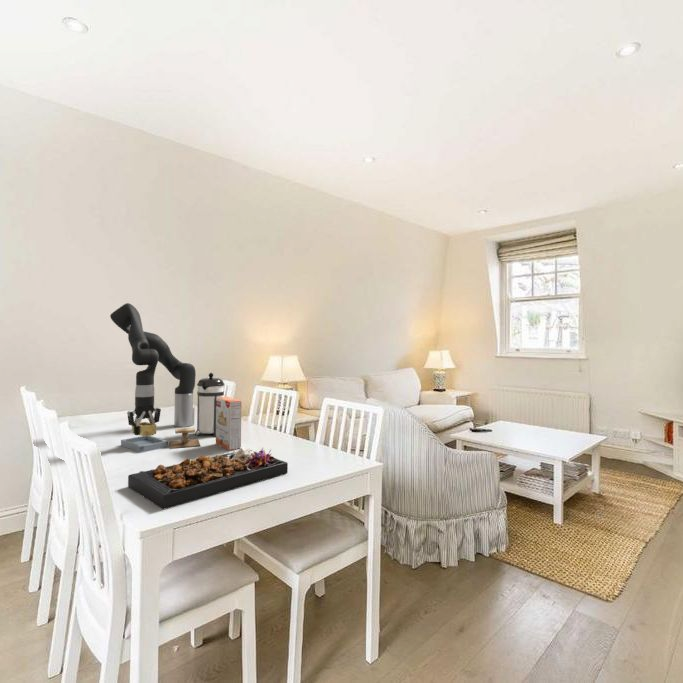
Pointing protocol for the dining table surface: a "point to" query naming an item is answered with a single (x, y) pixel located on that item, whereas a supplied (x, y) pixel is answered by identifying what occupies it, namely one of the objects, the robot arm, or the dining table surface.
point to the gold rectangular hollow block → (146, 429)
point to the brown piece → (184, 439)
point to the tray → (144, 443)
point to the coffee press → (208, 403)
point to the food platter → (205, 476)
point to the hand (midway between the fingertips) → (144, 433)
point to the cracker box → (228, 423)
